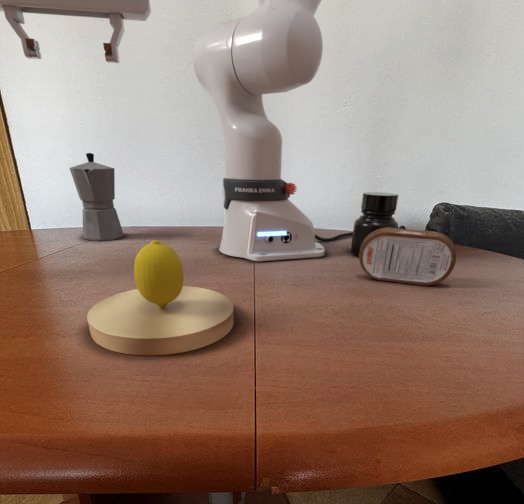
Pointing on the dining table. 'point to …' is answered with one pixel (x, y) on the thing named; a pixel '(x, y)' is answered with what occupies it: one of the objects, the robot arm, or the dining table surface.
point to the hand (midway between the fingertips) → (73, 60)
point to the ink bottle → (374, 217)
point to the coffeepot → (97, 200)
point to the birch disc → (160, 322)
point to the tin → (407, 256)
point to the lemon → (158, 273)
